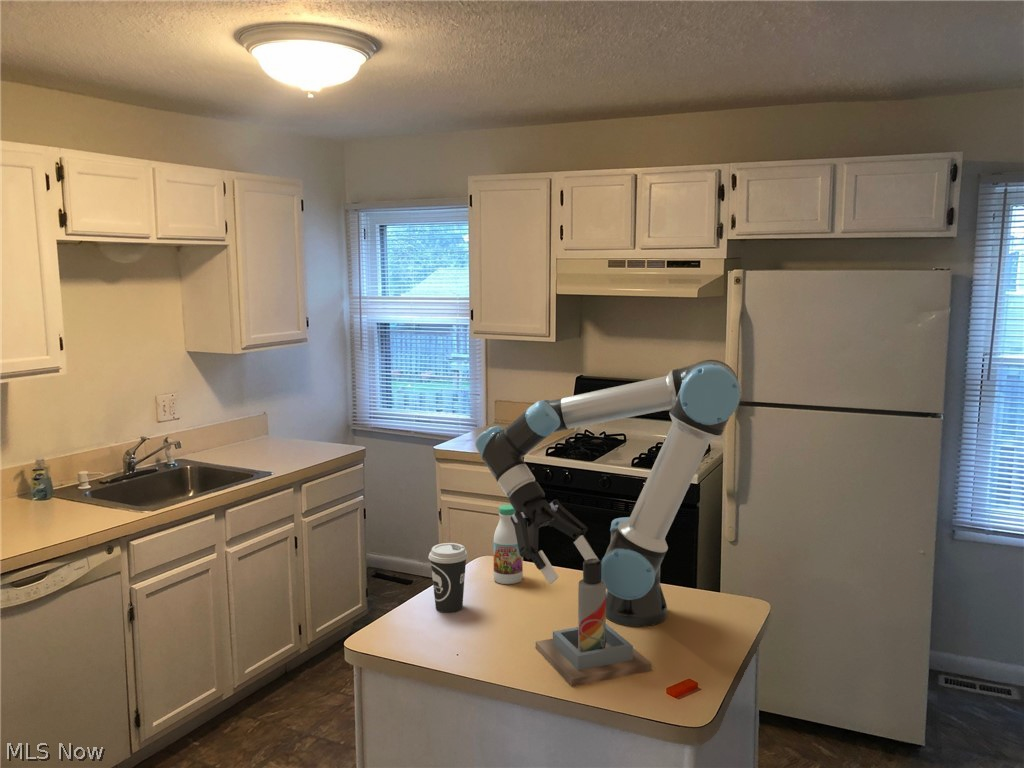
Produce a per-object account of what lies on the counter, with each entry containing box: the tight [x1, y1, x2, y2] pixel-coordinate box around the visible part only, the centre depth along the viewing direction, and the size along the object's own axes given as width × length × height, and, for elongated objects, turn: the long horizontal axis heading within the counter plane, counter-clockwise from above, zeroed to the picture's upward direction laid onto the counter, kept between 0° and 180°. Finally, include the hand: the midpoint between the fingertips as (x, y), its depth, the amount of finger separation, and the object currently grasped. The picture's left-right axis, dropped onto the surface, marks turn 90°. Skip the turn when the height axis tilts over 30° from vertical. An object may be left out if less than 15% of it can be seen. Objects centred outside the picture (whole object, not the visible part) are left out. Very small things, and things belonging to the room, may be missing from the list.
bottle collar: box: [552, 623, 634, 671], centre depth 168 cm, size 12×12×3 cm
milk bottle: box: [493, 504, 524, 585], centre depth 212 cm, size 8×8×20 cm
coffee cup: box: [427, 542, 469, 614], centre depth 194 cm, size 10×10×15 cm
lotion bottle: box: [577, 558, 607, 653], centre depth 167 cm, size 6×6×20 cm
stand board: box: [535, 638, 653, 688], centre depth 168 cm, size 18×18×2 cm
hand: (575, 572), depth 168 cm, fingers open, 13 cm apart
